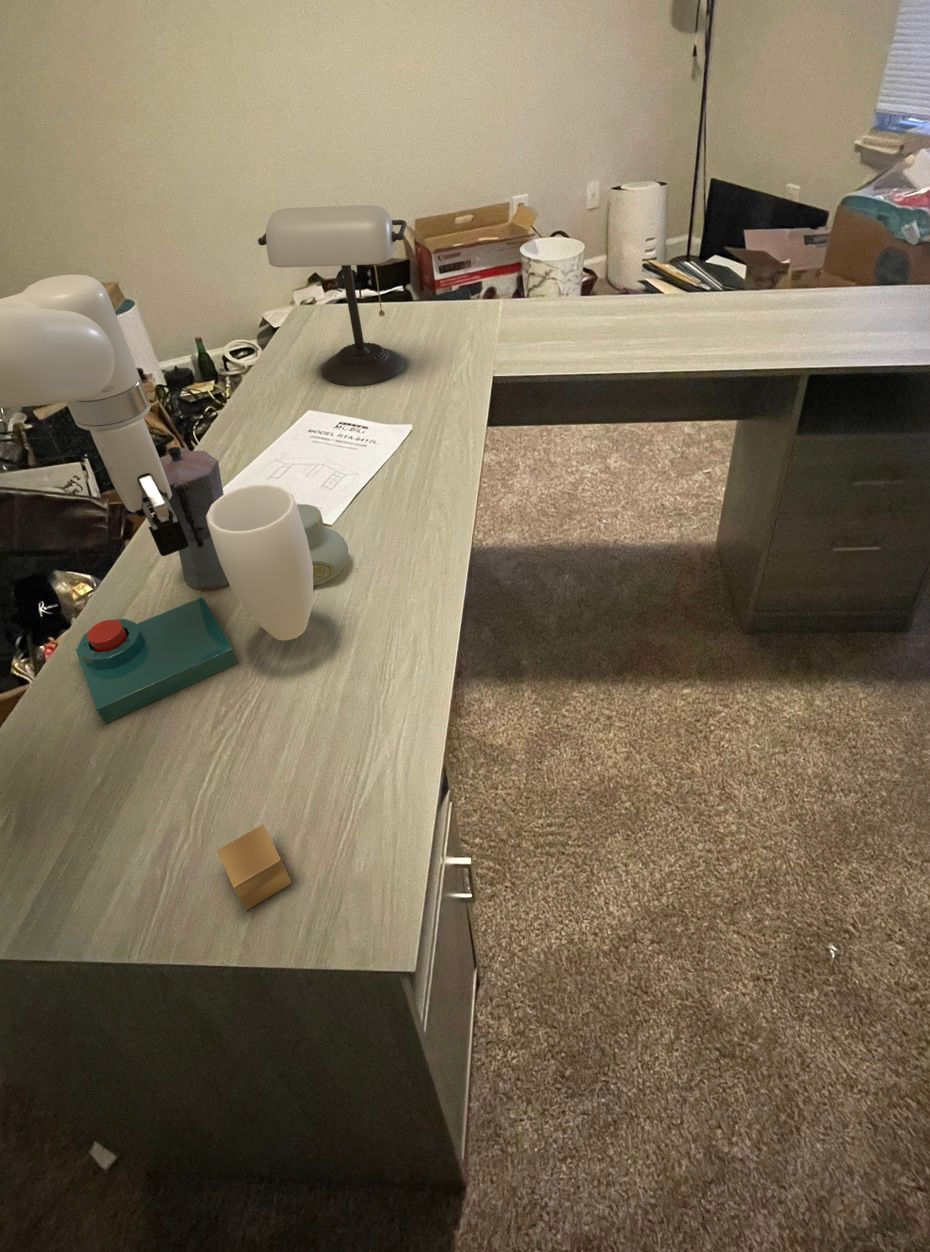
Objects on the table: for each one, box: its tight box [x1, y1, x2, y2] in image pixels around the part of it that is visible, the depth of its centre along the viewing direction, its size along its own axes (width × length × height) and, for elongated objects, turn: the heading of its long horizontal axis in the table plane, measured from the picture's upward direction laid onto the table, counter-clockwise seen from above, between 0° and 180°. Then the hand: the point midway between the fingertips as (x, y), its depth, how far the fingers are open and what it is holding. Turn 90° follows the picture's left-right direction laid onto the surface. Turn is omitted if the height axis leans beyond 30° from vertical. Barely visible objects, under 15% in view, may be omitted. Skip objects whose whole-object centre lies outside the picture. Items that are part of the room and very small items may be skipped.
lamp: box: [257, 204, 408, 387], centre depth 145 cm, size 26×24×34 cm
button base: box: [75, 596, 239, 725], centre depth 92 cm, size 16×12×4 cm
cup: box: [206, 483, 314, 641], centre depth 88 cm, size 10×10×22 cm
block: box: [217, 824, 292, 911], centre depth 69 cm, size 4×4×4 cm
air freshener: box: [297, 503, 349, 587], centre depth 103 cm, size 11×8×10 cm
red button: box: [87, 619, 127, 652], centre depth 90 cm, size 4×4×2 cm
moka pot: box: [159, 446, 230, 590], centre depth 100 cm, size 10×15×20 cm, turn 26°
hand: (163, 530), depth 88 cm, fingers open, 9 cm apart
